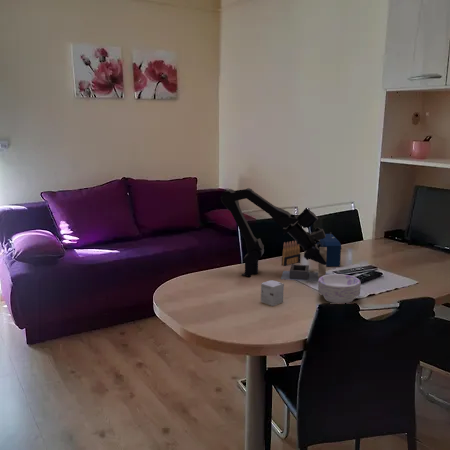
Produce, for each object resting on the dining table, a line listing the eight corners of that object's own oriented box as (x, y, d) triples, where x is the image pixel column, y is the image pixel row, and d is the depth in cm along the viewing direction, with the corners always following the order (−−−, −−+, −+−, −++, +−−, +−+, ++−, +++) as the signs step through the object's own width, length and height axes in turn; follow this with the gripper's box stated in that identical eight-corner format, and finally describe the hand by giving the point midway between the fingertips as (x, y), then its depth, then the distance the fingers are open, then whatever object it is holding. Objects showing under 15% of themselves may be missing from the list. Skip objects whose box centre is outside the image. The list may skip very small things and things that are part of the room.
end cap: (289, 278, 194) (289, 270, 193) (291, 272, 203) (291, 264, 202) (307, 279, 192) (307, 271, 192) (308, 273, 201) (308, 265, 201)
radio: (342, 269, 211) (344, 225, 207) (322, 269, 211) (324, 225, 207) (332, 256, 231) (334, 217, 227) (315, 256, 231) (316, 217, 228)
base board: (280, 281, 194) (280, 278, 193) (283, 272, 205) (283, 270, 205) (339, 285, 188) (339, 283, 188) (339, 276, 200) (339, 274, 200)
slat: (318, 278, 193) (319, 249, 191) (318, 275, 198) (319, 246, 196) (325, 279, 193) (326, 250, 190) (325, 275, 198) (326, 247, 195)
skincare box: (260, 302, 170) (260, 283, 169) (271, 298, 174) (271, 279, 173) (273, 306, 166) (273, 286, 164) (283, 302, 170) (284, 283, 169)
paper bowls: (309, 295, 177) (310, 275, 175) (343, 290, 182) (344, 271, 180) (332, 309, 163) (333, 288, 161) (368, 304, 168) (369, 283, 167)
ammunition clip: (284, 268, 212) (284, 242, 210) (281, 267, 214) (281, 241, 211) (300, 264, 219) (301, 239, 216) (297, 263, 220) (298, 238, 218)
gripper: (313, 227, 183) (341, 255, 183) (315, 218, 201) (340, 244, 200) (292, 245, 186) (319, 273, 186) (296, 235, 204) (321, 261, 204)
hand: (325, 262), depth 194 cm, fingers closed on slat, 5 cm apart
